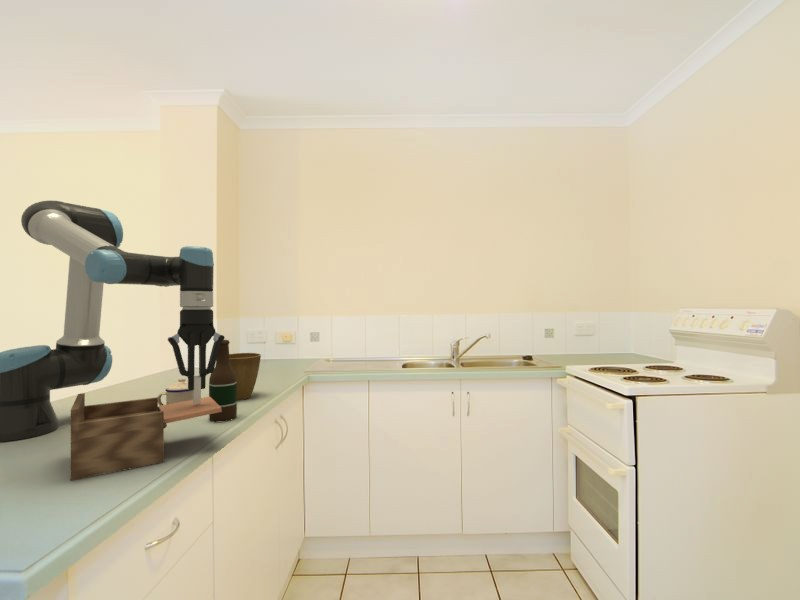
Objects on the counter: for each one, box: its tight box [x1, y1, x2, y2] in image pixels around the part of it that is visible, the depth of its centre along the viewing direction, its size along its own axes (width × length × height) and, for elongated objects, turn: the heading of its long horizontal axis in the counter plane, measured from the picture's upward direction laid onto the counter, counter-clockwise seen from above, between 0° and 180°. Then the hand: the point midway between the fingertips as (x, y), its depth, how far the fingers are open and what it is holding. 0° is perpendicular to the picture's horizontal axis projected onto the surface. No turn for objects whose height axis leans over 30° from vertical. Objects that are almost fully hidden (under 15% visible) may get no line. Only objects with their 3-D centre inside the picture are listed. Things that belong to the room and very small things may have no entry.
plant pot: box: [229, 352, 262, 401], centre depth 151 cm, size 15×15×16 cm
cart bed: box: [70, 392, 168, 481], centre depth 92 cm, size 17×18×14 cm
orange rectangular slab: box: [158, 396, 222, 424], centre depth 100 cm, size 2×15×12 cm
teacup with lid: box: [156, 377, 193, 407], centre depth 128 cm, size 12×9×12 cm
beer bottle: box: [208, 339, 238, 423], centre depth 123 cm, size 8×8×24 cm
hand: (196, 402), depth 101 cm, fingers closed
